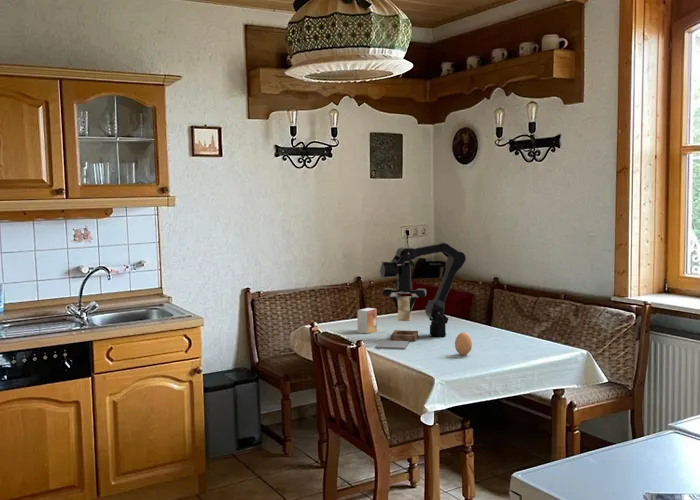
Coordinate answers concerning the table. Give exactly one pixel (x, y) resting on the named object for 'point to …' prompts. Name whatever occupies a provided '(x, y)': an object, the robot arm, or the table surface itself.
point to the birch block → (404, 308)
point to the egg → (463, 343)
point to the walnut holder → (404, 335)
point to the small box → (367, 320)
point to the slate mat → (392, 344)
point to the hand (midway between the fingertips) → (404, 311)
